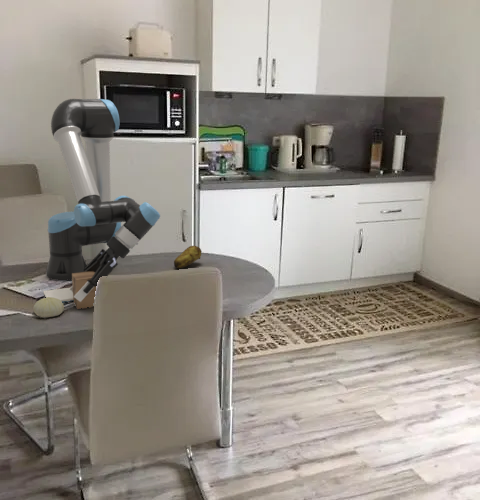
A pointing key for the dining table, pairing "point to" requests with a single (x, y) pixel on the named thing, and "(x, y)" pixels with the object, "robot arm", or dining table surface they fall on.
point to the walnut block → (78, 283)
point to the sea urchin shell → (48, 307)
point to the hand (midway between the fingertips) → (74, 295)
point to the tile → (60, 294)
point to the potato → (188, 257)
